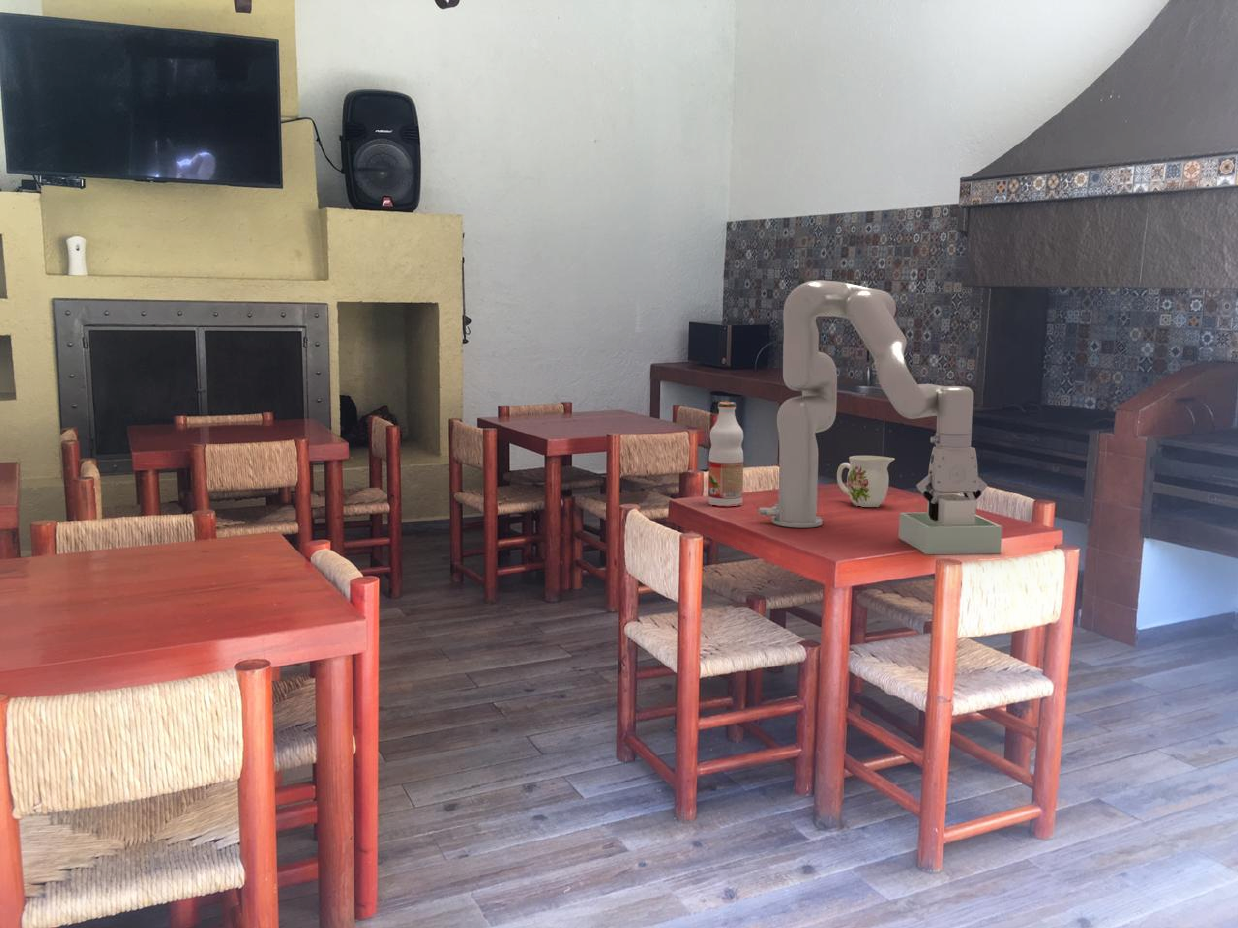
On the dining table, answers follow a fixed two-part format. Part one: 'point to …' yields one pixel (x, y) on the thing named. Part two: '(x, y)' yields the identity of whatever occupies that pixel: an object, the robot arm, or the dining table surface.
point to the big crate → (950, 535)
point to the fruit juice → (725, 458)
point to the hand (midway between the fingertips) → (950, 519)
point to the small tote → (954, 510)
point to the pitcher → (866, 479)
